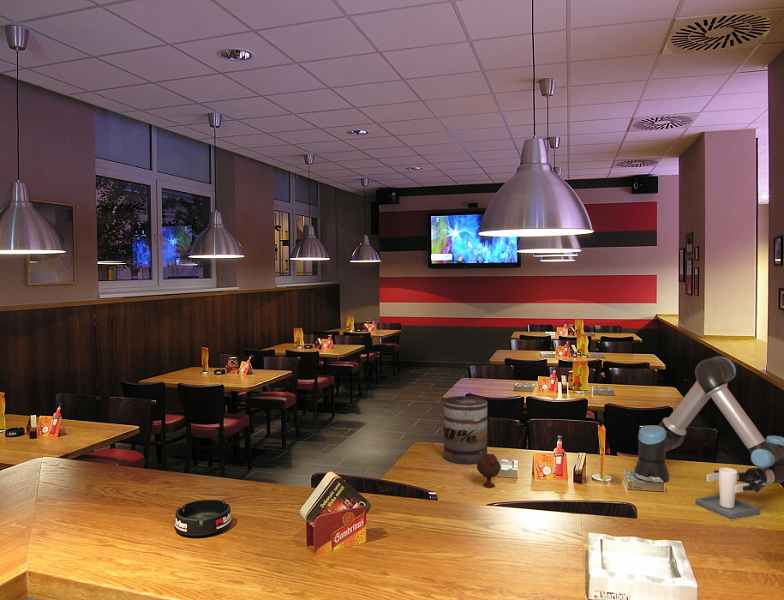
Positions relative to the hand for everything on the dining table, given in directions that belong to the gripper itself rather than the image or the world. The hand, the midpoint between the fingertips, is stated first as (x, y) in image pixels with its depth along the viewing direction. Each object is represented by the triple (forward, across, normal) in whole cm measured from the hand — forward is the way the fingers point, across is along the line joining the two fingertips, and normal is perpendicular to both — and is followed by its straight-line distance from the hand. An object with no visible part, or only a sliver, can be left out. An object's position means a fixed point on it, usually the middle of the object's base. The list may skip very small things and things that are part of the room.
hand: (721, 483), depth 243 cm
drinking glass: (-4, 0, -10) cm, 11 cm away
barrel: (+64, +99, -11) cm, 118 cm away
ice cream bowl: (+73, +59, -11) cm, 95 cm away
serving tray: (-3, 0, -11) cm, 12 cm away
